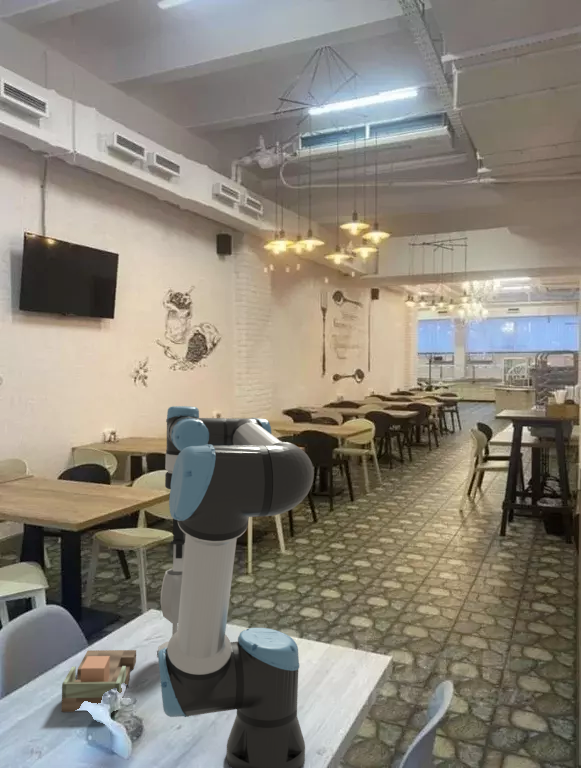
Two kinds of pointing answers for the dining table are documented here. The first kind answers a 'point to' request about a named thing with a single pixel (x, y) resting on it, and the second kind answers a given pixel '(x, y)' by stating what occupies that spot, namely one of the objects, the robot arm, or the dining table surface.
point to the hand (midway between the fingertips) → (179, 570)
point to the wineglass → (171, 599)
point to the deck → (93, 691)
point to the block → (95, 669)
